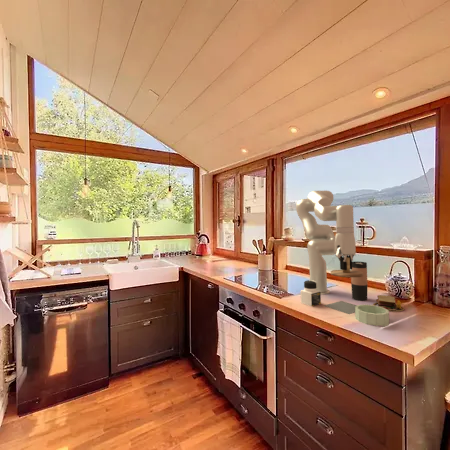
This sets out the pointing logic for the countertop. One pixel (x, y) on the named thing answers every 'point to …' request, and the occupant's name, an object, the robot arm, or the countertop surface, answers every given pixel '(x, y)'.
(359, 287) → the travel mug
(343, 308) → the mat
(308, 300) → the medicine bottle
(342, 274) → the lid
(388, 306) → the toy sandwich meal
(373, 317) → the bowl
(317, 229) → the robot arm
